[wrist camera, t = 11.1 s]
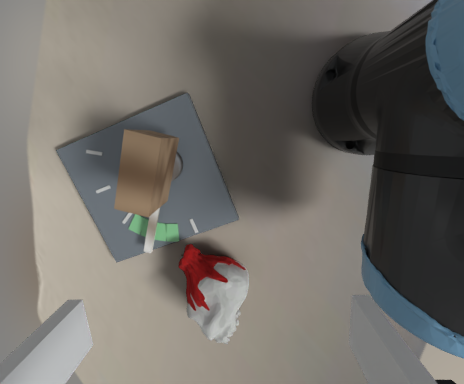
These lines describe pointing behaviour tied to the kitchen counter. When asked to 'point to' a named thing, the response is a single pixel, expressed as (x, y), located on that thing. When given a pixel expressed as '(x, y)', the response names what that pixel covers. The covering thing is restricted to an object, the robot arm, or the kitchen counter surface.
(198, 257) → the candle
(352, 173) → the kitchen counter surface
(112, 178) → the dial board
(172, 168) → the knob
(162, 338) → the kitchen counter surface
